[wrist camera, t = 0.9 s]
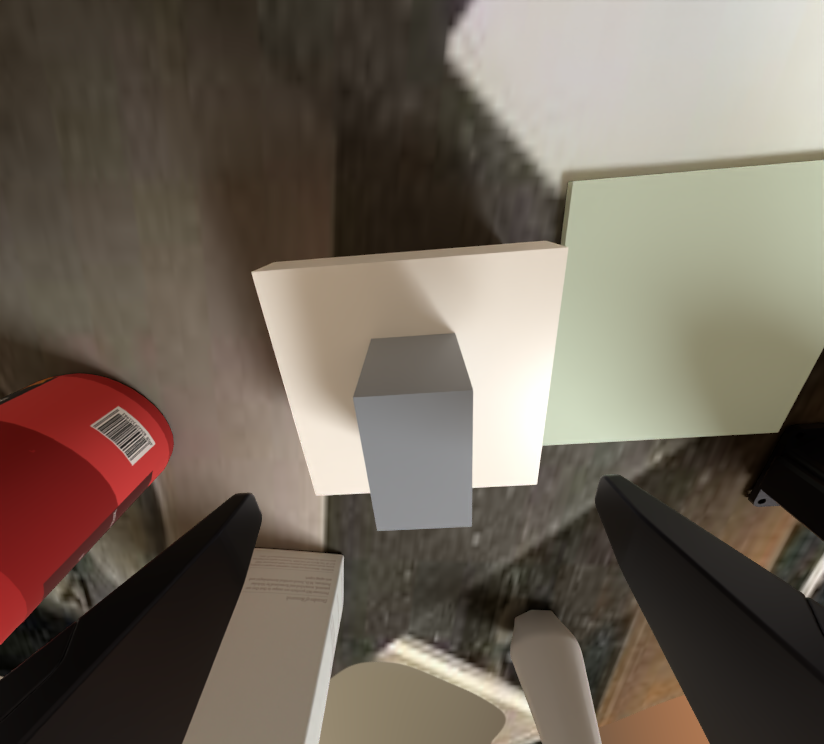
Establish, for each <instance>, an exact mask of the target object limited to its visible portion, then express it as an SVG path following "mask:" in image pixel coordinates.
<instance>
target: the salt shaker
mask: <svg viewBox="0 0 824 744" xmlns="http://www.w3.org/2000/svg"><path fill="white" fill-rule="evenodd" d="M510 654H511V659H512V661H513V664H514V667H515V670H516V672H517V675H518V678H519V680H520V683H521V686H522V689H523V691H524V694H525V697H526V699H527V702H528V705H529V708H530V710H531V713H532V716H533V718H534V721H535V724H536V727H537V730H538V733H539V736H540V738H541V741H542V744H602V743H601V739H600V734H599V729H598V725H597V720H596V716H595V711H594V706H593V702H592V697H591V693H590V688H589V683H588V679H587V674H586V670H585V665H584V661H583V656H582V652H581V649H580V646H579V644H578V642H577V640H576V638H575V637H574V636H573V635H572V633H571V632H570V631H569V630H568V629H567V628H566V627H565V626H564V624H563V623H562V622H561V621H560V620H559V619H558V618H557V617H556V615H555V614H554V613H553V612H552V611H549V610H529V611H527V612H525V613H523V614H521V615H519V616H518V617H516V618H515V623H514V631H513V636H512V641H511V647H510Z"/></svg>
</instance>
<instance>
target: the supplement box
mask: <svg viewBox="0 0 824 744" xmlns="http://www.w3.org/2000/svg"><path fill="white" fill-rule="evenodd" d="M343 594H344V556H343V555H340V554H330V553H317V552H305V551H293V550H279V549H266V548H254V551H253V555H252V558H251V562H250V565H249V569H248V572H247V576H246V579H245V582H244V585H243V588H242V591H241V593H240V596H239V599H238V601H237V604H236V606H235V609H234V611H233V614H232V617H231V619H230V622H229V624H228V627H227V630H226V632H225V635H224V637H223V640H222V643H221V645H220V648H219V650H218V653H217V655H216V658H215V661H214V663H213V666H212V668H211V671H210V674H209V676H208V679H207V681H206V684H205V686H204V689H203V692H202V694H201V697H200V699H199V702H198V705H197V707H196V710H195V712H194V715H193V718H192V720H191V723H190V725H189V728H188V730H187V733H186V736H185V738H184V741H183V743H182V744H319V739H320V733H321V727H322V721H323V715H324V710H325V704H326V698H327V693H328V687H329V681H330V676H331V670H332V664H333V658H334V652H335V647H336V641H337V636H338V631H339V625H340V620H341V614H342V609H343Z"/></svg>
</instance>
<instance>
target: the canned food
mask: <svg viewBox="0 0 824 744" xmlns="http://www.w3.org/2000/svg"><path fill="white" fill-rule="evenodd" d="M173 445H174V442H173V434H172V432H171V429H170V426H169V424H168V423H167V421H166V420H165V418H164V416H163V415H162V414H161V413H160V412H159V410H158V409H157V408H156V407H155V406H154V405H153V404H152V403H151V402H149V401H148V400H147V399H146V398H145V397H143V396H142V395H140V394H139V393H138V392H136V391H135V390H133V389H131V388H129V387H127V386H125V385H123V384H121V383H120V382H117V381H114V380H111V379H109V378H106V377H102V376H97V375H93V374H82V373H76V374H67V375H61V376H55V377H50V378H47V379H44V380H41V381H38V382H36V383H34V384H32V385H30V386H27V387H25V388H23V389H21V390H19V391H17V392H15V393H13V394H10V395H8V396H6V397H4V398H2V399H0V645H1V644H2V643H3V642H4V641H5V639H6V638H7V637H8V636H9V635H10V634H11V633H12V632H13V631H14V630H15V629H16V628H17V627H18V626H19V625H20V624H21V623H22V622H23V621H24V620H25V619H26V618H27V617H28V616H29V615H30V614H31V612H32V611H33V610H34V609H35V608H36V607H37V606H38V605H39V604H40V603H41V602H42V601H43V600H44V598H45V597H46V596H47V595H48V594H49V593H50V592H51V591H52V590H53V589H54V588H55V587H56V585H57V584H58V583H59V582H60V581H61V580H62V579H63V578H64V577H65V576H66V575H67V574H68V573H69V571H70V570H71V569H72V568H73V567H74V566H75V565H76V564H77V563H78V562H79V561H80V560H81V558H82V557H83V556H84V555H85V554H86V553H87V552H88V551H89V550H90V549H91V548H92V547H93V546H94V544H95V543H96V542H97V541H98V540H99V539H100V538H101V537H102V536H103V535H104V534H105V533H106V532H107V530H108V529H109V528H110V527H111V526H112V525H113V524H114V523H115V522H116V521H117V520H118V519H119V517H120V516H121V515H122V514H123V513H124V512H125V511H126V510H127V509H128V508H129V507H130V506H131V505H132V503H133V502H134V501H135V500H136V499H137V498H138V497H139V496H140V495H141V494H142V493H143V492H144V490H145V489H146V488H147V487H148V486H149V485H150V484H151V483H152V482H153V481H154V480H155V479H156V478H157V476H158V475H159V474H160V473H161V472H162V471H163V470H164V469H165V467H166V465H167V463H168V461H169V459H170V456H171V454H172V451H173Z"/></svg>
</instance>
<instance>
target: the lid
mask: <svg viewBox="0 0 824 744" xmlns="http://www.w3.org/2000/svg"><path fill="white" fill-rule="evenodd" d="M568 248H569V247H566V246H563V245H559V244H556V243H552V242H549V241H536V242H523V243H510V244H497V245H485V246H472V247H459V248H447V249H434V250H421V251H409V252H396V253H383V254H370V255H358V256H345V257H332V258H320V259H307V260H294V261H281V262H273V263H271V264H269V265H266V266H264V267H262V268H259V269H257V270H255V271H252V272H251V273H252V277H253V280H254V284H255V287H256V290H257V294H258V297H259V301H260V304H261V308H262V311H263V315H264V318H265V321H266V325H267V328H268V332H269V335H270V339H271V342H272V346H273V349H274V352H275V356H276V359H277V363H278V366H279V370H280V373H281V377H282V380H283V383H284V387H285V390H286V394H287V397H288V401H289V404H290V408H291V411H292V415H293V418H294V421H295V425H296V428H297V432H298V435H299V439H300V442H301V446H302V449H303V452H304V456H305V459H306V463H307V466H308V470H309V473H310V477H311V480H312V483H313V487H314V490H315V494H316V496H321V495H340V494H360V493H370V494H371V499H372V504H373V510H374V515H375V521H376V526H377V531H387V530H408V529H430V528H451V527H472V488H478V487H497V486H517V485H536V484H537V480H538V472H539V465H540V457H541V450H542V442H543V435H544V427H545V420H546V413H547V405H548V398H549V390H550V383H551V375H552V368H553V360H554V353H555V345H556V338H557V330H558V323H559V315H560V308H561V301H562V293H563V286H564V278H565V271H566V263H567V256H568Z"/></svg>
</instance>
